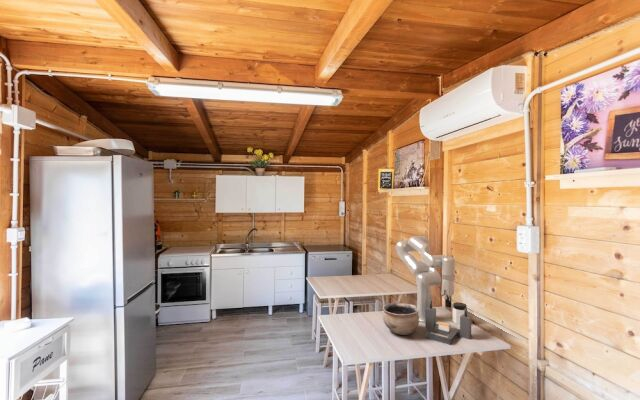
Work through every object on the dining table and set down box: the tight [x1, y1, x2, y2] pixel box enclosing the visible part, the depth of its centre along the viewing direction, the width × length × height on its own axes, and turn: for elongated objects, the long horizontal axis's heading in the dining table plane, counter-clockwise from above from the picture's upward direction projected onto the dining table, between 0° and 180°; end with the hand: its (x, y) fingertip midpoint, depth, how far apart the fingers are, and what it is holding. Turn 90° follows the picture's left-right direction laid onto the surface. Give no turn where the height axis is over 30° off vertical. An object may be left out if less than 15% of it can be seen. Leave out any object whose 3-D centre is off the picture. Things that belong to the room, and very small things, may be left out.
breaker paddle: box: [438, 321, 451, 332], centre depth 191 cm, size 6×2×4 cm, turn 50°
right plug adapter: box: [459, 306, 472, 340], centre depth 189 cm, size 5×5×17 cm
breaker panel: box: [425, 323, 460, 345], centre depth 189 cm, size 14×18×3 cm
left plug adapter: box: [424, 299, 437, 330], centre depth 202 cm, size 5×5×17 cm
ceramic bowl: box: [382, 302, 420, 336], centre depth 195 cm, size 22×22×15 cm
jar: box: [451, 302, 467, 325], centre depth 211 cm, size 9×8×12 cm
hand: (448, 307), depth 196 cm, fingers closed
